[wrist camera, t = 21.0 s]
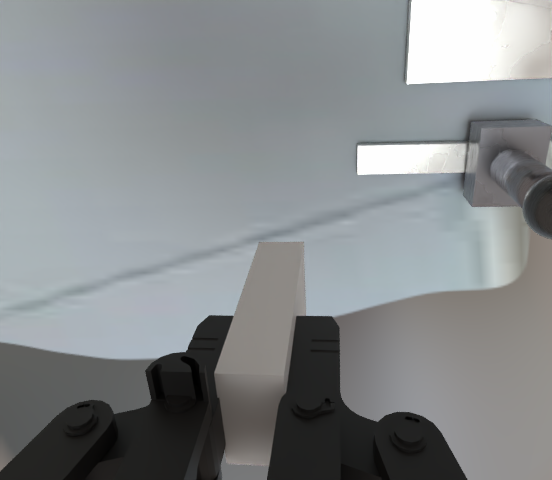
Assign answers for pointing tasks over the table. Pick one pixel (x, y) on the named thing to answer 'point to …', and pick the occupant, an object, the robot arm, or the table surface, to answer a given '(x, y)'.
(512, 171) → the lever
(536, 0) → the jar
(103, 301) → the table surface
